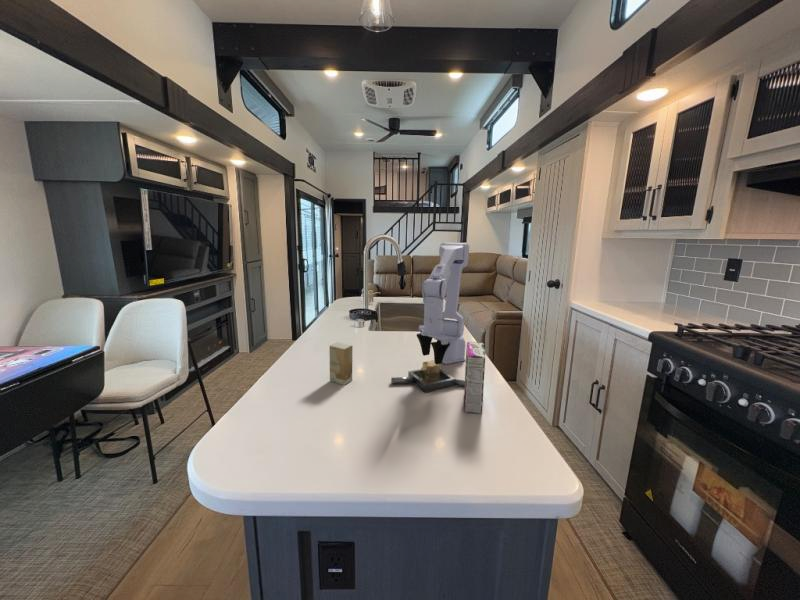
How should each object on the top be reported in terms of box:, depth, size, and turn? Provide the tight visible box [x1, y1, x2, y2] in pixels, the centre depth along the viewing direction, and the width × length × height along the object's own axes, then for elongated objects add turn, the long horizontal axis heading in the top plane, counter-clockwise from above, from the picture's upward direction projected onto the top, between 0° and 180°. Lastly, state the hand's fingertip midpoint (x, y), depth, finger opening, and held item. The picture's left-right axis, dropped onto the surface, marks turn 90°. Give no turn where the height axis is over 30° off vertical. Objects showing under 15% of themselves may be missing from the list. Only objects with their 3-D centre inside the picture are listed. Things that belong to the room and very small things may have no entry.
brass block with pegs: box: [420, 360, 442, 383], centre depth 102 cm, size 6×4×6 cm, turn 116°
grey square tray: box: [407, 368, 457, 394], centre depth 103 cm, size 11×11×2 cm
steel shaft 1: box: [390, 376, 414, 385], centre depth 102 cm, size 7×2×2 cm, turn 96°
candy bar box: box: [463, 341, 486, 415], centre depth 89 cm, size 11×5×16 cm, turn 168°
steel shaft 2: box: [454, 378, 465, 388], centre depth 100 cm, size 7×2×2 cm, turn 76°
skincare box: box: [329, 341, 353, 386], centre depth 102 cm, size 6×4×12 cm
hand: (431, 359), depth 102 cm, fingers open, 7 cm apart
